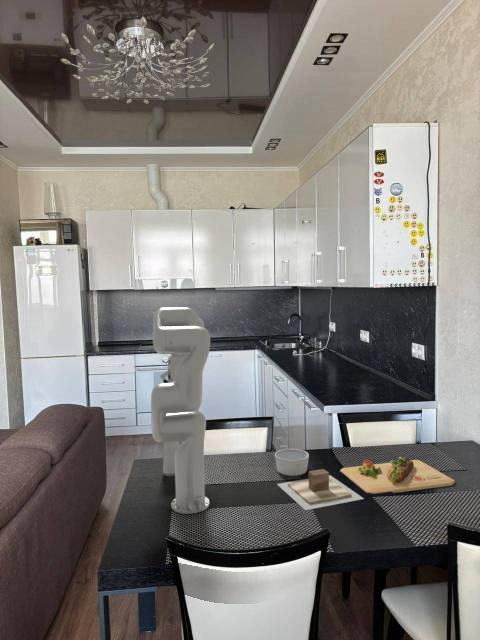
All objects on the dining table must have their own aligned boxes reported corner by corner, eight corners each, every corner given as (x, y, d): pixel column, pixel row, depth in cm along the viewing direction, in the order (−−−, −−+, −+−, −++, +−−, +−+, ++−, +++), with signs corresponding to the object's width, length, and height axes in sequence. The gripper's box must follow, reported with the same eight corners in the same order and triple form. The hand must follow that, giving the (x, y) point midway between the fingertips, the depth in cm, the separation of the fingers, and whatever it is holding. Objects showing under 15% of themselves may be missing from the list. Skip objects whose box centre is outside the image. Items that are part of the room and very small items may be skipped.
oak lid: (351, 496, 162) (351, 476, 161) (309, 504, 156) (309, 484, 156) (327, 479, 177) (327, 461, 176) (287, 485, 171) (287, 467, 171)
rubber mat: (364, 500, 160) (364, 498, 160) (305, 511, 152) (305, 510, 152) (330, 476, 181) (330, 475, 180) (276, 485, 173) (276, 484, 173)
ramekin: (307, 479, 178) (307, 461, 178) (272, 477, 181) (272, 459, 181) (310, 466, 191) (309, 449, 191) (277, 464, 194) (276, 447, 194)
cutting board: (368, 498, 163) (368, 476, 163) (338, 472, 186) (338, 453, 185) (457, 486, 172) (457, 465, 171) (417, 463, 194) (418, 445, 194)
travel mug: (181, 470, 189) (180, 420, 188) (177, 476, 183) (176, 425, 181) (165, 470, 190) (164, 420, 188) (161, 476, 183) (160, 425, 182)
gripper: (163, 354, 185) (165, 398, 186) (203, 350, 194) (204, 392, 195) (156, 352, 191) (157, 395, 192) (195, 349, 200) (196, 389, 201)
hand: (181, 393), depth 193 cm, fingers open, 9 cm apart
